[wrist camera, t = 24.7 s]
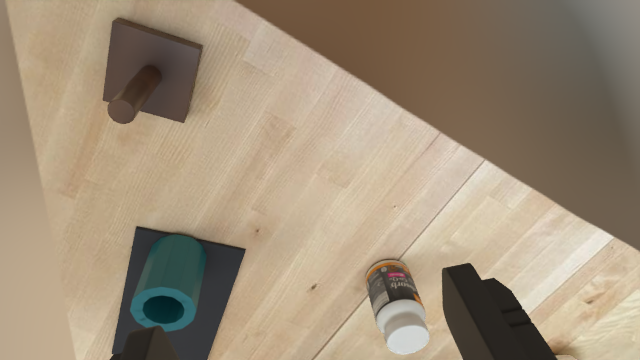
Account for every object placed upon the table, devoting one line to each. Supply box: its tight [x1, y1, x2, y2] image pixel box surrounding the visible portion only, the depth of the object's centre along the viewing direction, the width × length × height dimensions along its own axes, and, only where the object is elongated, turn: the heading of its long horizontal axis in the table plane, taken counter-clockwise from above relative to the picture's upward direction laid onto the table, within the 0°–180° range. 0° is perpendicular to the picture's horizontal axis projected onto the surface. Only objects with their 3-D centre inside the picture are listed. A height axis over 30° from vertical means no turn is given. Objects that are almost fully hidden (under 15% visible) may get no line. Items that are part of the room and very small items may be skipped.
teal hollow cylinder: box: [130, 234, 206, 332], centre depth 44 cm, size 6×6×8 cm
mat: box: [112, 227, 246, 360], centre depth 51 cm, size 12×21×1 cm, turn 160°
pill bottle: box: [366, 260, 429, 354], centre depth 49 cm, size 6×6×10 cm
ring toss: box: [103, 18, 203, 124], centre depth 33 cm, size 7×7×10 cm
